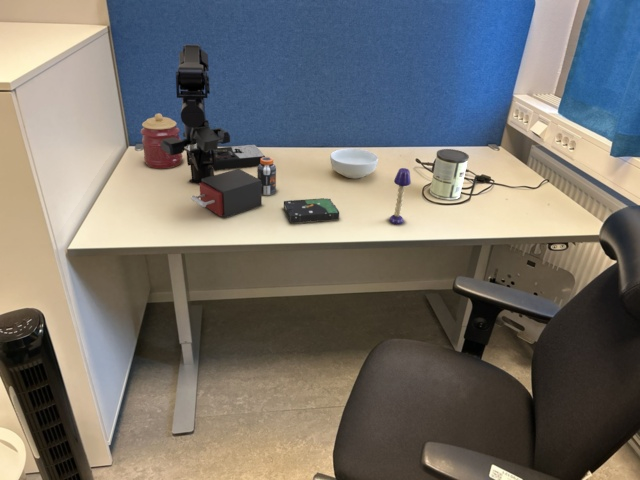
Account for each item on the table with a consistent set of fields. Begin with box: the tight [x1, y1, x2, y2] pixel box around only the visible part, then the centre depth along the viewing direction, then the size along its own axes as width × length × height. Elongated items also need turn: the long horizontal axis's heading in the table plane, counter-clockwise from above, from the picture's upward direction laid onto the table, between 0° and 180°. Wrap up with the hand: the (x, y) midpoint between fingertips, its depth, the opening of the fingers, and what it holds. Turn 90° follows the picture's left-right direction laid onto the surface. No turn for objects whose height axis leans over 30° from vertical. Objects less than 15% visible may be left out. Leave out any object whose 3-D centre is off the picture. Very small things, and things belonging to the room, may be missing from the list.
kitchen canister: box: [140, 113, 183, 169], centre depth 165 cm, size 13×13×18 cm
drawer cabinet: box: [202, 168, 263, 219], centre depth 141 cm, size 13×11×8 cm
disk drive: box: [283, 198, 340, 224], centre depth 140 cm, size 10×3×15 cm
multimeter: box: [212, 144, 266, 171], centre depth 172 cm, size 13×19×5 cm
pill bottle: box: [256, 156, 277, 196], centre depth 150 cm, size 6×6×11 cm
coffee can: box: [429, 148, 470, 201], centre depth 156 cm, size 10×10×14 cm
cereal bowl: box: [329, 148, 379, 179], centre depth 168 cm, size 17×17×7 cm
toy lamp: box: [388, 167, 411, 226], centre depth 135 cm, size 5×5×17 cm
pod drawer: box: [190, 182, 224, 217], centre depth 138 cm, size 17×10×7 cm, turn 134°
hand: (198, 169), depth 134 cm, fingers closed
